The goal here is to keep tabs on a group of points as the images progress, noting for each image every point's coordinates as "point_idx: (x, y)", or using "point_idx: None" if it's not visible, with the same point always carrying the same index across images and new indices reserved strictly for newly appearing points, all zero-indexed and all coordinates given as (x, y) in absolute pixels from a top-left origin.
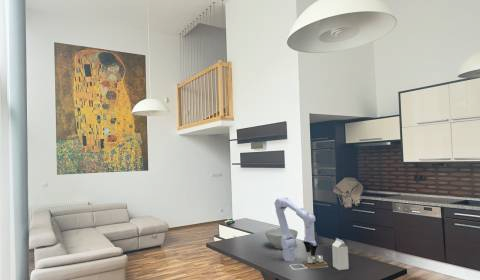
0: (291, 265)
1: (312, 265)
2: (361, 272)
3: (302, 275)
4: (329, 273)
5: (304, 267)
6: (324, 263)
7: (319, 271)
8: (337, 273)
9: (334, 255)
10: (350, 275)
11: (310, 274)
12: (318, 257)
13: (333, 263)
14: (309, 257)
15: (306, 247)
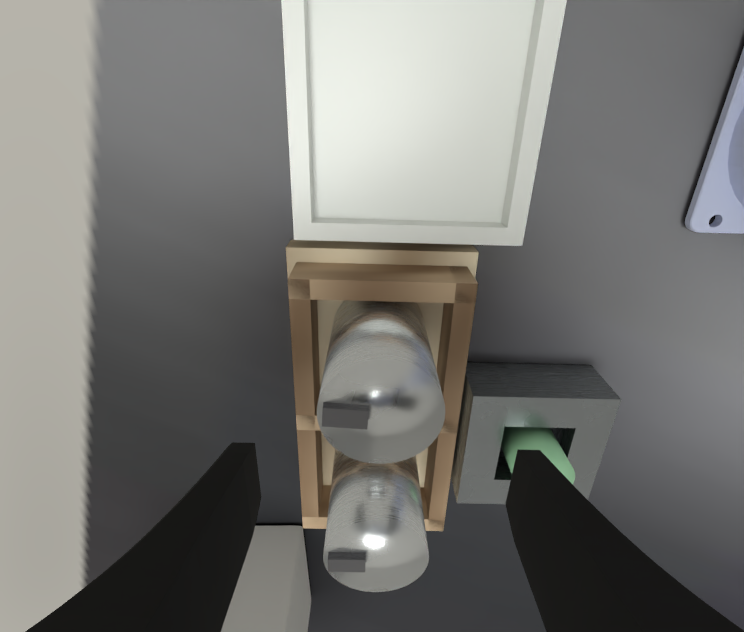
0: (537, 23)
1: (293, 342)
2: None
3: (94, 57)
4: (152, 433)
5: (354, 221)
6: (307, 502)
7: (233, 366)
8: (145, 497)
9: None
10: (84, 561)
11: (133, 208)
12: (340, 521)
13: (277, 576)
14: (347, 390)
15: (579, 558)
